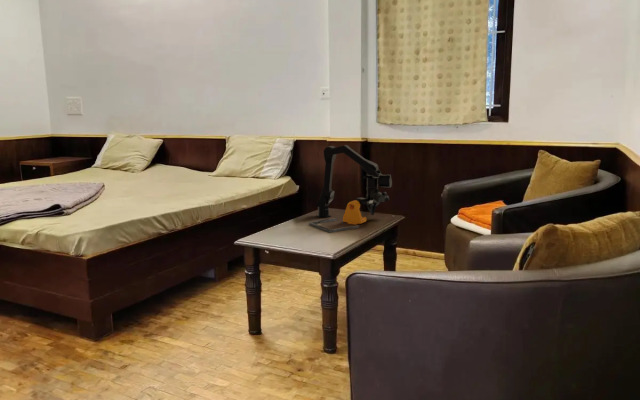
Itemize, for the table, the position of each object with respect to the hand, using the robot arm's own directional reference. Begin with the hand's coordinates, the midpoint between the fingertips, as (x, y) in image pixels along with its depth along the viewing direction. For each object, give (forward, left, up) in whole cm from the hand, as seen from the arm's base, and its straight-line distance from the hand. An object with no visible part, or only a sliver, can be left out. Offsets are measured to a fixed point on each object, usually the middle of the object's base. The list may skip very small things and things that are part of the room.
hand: (372, 215), depth 278 cm
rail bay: (0, -24, -2) cm, 25 cm away
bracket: (0, -11, -3) cm, 12 cm away
